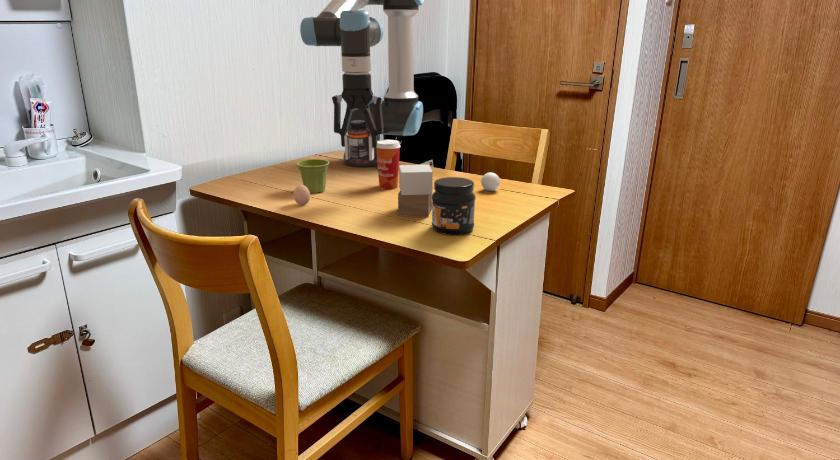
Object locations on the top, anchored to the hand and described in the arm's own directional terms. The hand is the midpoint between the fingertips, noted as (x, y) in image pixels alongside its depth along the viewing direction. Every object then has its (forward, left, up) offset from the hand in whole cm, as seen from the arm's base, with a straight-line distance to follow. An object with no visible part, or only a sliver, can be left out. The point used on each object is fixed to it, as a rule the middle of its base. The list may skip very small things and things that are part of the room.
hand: (359, 158), depth 160 cm
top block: (+8, +17, -6) cm, 19 cm away
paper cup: (-15, +5, -12) cm, 20 cm away
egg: (+7, -15, -12) cm, 21 cm away
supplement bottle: (0, 0, -1) cm, 1 cm away
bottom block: (+8, +17, -12) cm, 22 cm away
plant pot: (-7, -16, -12) cm, 22 cm away
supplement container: (+20, +28, -12) cm, 36 cm away
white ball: (-15, +36, -12) cm, 41 cm away
